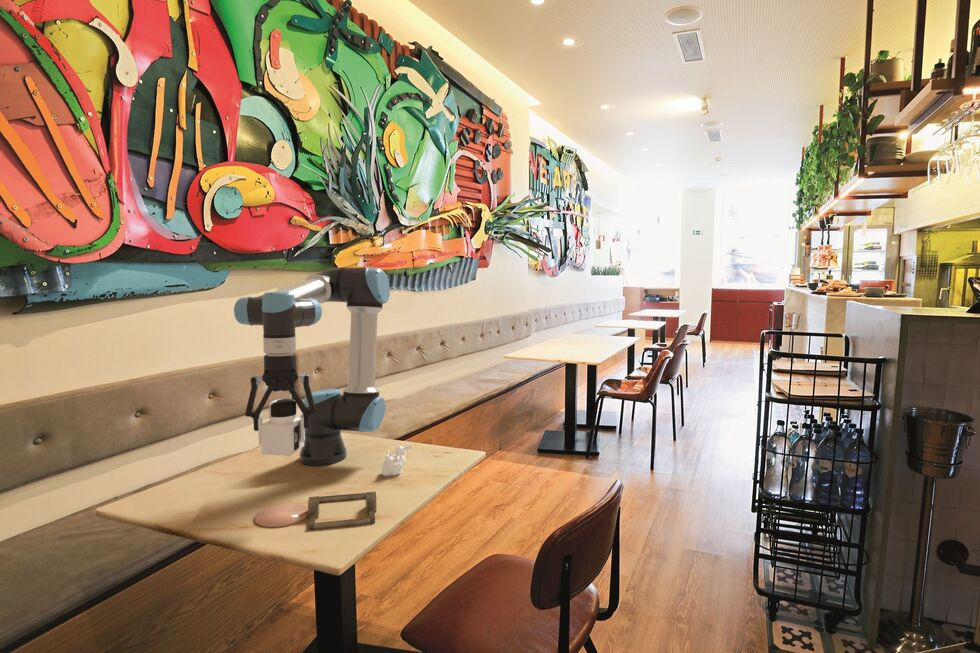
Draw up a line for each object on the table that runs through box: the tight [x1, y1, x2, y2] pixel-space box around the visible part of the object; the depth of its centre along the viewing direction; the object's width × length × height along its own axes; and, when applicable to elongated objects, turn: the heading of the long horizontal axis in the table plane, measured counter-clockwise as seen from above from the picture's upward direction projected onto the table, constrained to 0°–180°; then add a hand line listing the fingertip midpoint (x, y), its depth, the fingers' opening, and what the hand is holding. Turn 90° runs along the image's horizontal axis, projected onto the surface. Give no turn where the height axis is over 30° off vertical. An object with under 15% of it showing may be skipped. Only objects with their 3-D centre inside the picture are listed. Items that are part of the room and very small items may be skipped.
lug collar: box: [307, 491, 377, 531], centre depth 145 cm, size 17×17×4 cm
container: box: [261, 398, 304, 457], centre depth 141 cm, size 8×8×13 cm
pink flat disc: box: [254, 502, 308, 528], centre depth 142 cm, size 13×13×1 cm
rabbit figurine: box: [380, 444, 412, 477], centre depth 173 cm, size 12×8×10 cm, turn 146°
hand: (282, 441), depth 140 cm, fingers closed on container, 9 cm apart
